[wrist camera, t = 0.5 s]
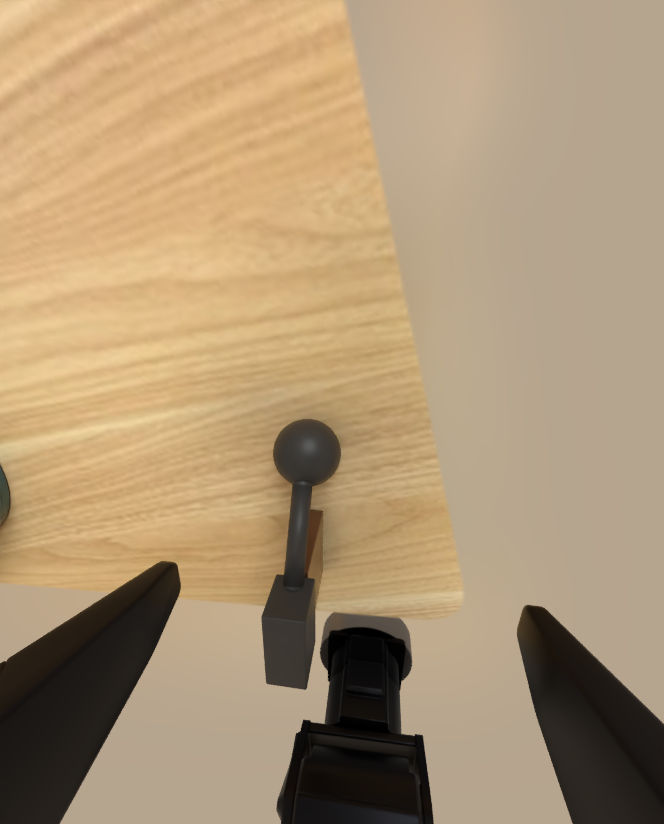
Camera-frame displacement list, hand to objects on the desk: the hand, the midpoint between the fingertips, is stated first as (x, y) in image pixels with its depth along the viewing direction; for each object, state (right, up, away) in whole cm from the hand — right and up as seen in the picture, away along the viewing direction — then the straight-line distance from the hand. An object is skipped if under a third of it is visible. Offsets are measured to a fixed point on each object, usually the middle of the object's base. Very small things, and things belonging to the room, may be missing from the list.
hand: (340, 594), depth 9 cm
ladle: (-1, -1, +13) cm, 13 cm away
